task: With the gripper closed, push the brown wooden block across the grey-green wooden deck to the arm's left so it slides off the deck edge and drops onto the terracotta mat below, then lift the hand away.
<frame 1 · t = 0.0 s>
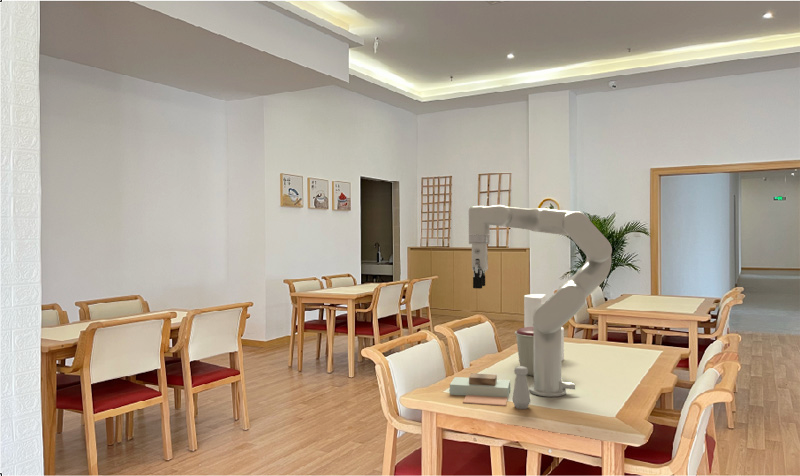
hand: (479, 287, 208), 37 cm above the table, tool pointing down, fingers open, 9 cm apart
salt shaker: (521, 407, 184), on the table
brown wooden block: (482, 379, 202), point 5 cm above the table, touching deck
canister: (537, 374, 229), on the table
mat: (485, 400, 192), on the table
white tall block: (543, 358, 257), on the table
deck: (480, 392, 202), on the table
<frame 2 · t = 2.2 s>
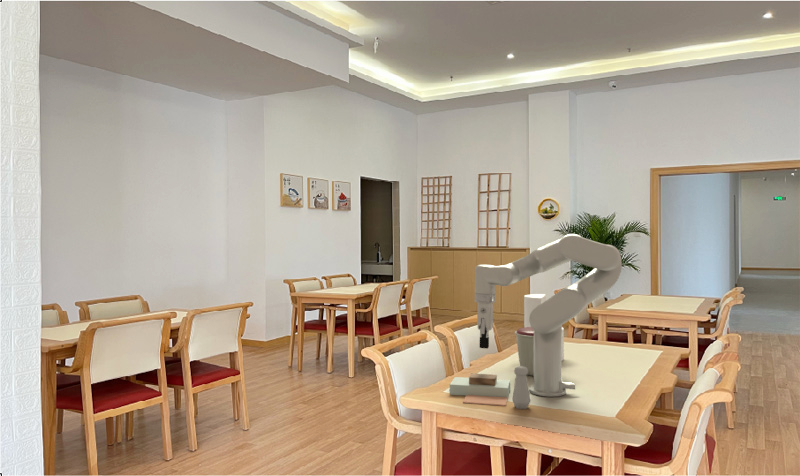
hand: (484, 347, 210), 14 cm above the table, tool pointing down, fingers closed
nothing on the table moved.
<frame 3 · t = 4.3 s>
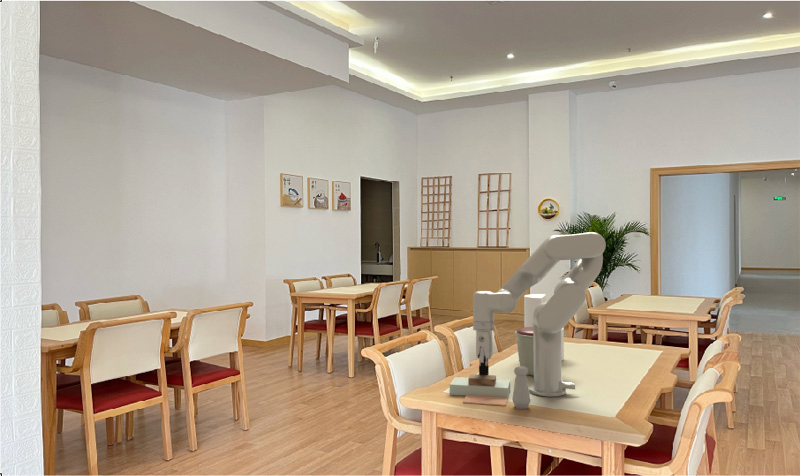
hand: (483, 376, 205), 5 cm above the table, tool pointing down, fingers closed
brown wooden block: (482, 380, 200), point 5 cm above the table, touching gripper
everything else where it was.
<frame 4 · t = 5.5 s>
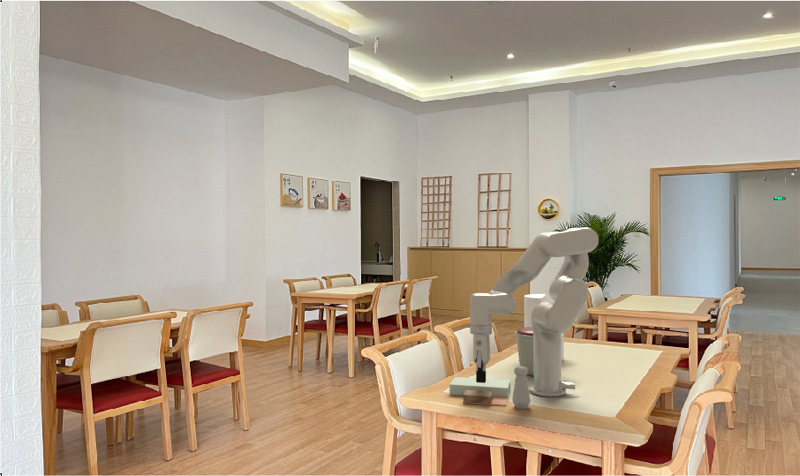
hand: (481, 382, 197), 5 cm above the table, tool pointing down, fingers closed
brown wooden block: (478, 396, 191), point 2 cm above the table, tilted 180°, touching mat
everything else where it was.
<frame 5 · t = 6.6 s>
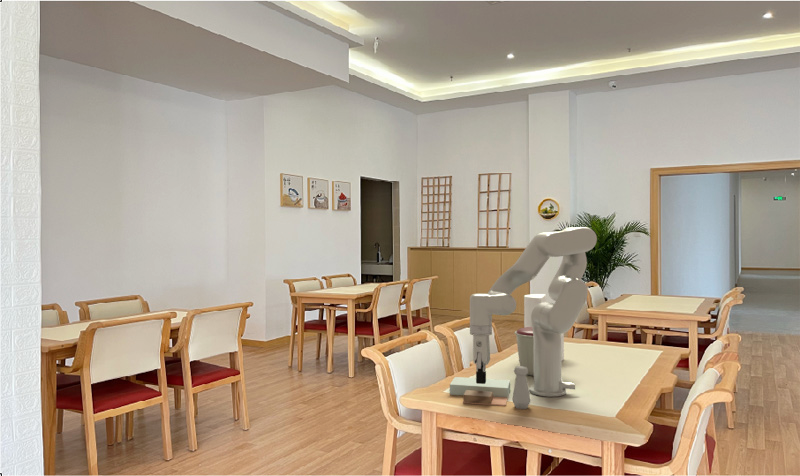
hand: (481, 383, 196), 5 cm above the table, tool pointing down, fingers closed
nothing on the table moved.
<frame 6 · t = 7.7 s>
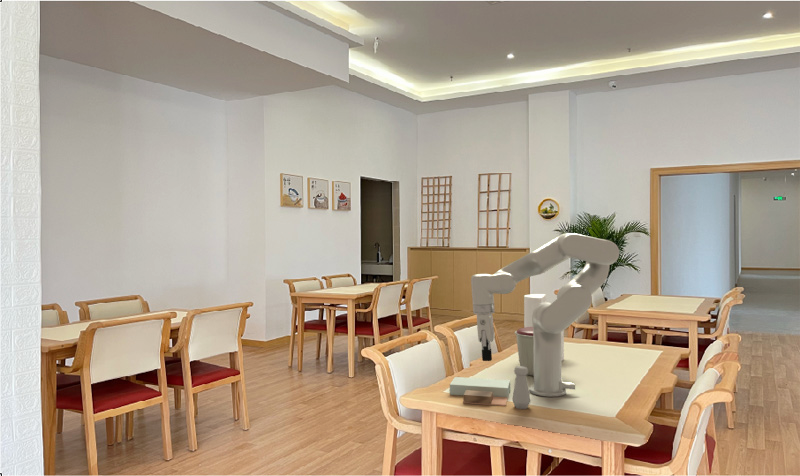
hand: (487, 360, 202), 11 cm above the table, tool pointing down, fingers closed
nothing on the table moved.
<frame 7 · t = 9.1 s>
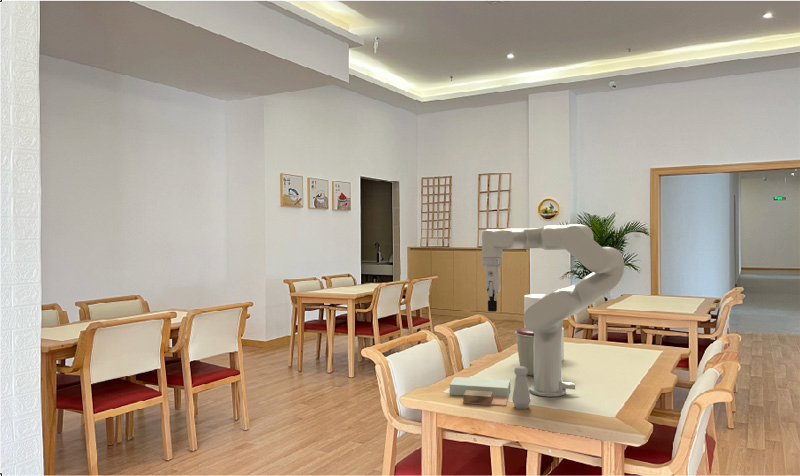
hand: (492, 311, 214), 27 cm above the table, tool pointing down, fingers closed
nothing on the table moved.
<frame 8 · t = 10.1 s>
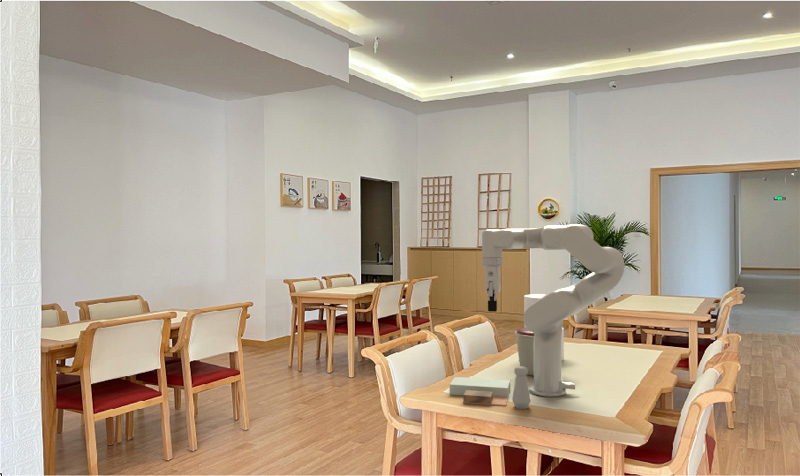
hand: (492, 311, 214), 27 cm above the table, tool pointing down, fingers closed
nothing on the table moved.
at the end: brown wooden block point 1.6 cm above the table; brown wooden block inside the target area on the mat (2.7 cm from its centre), point 1.6 cm above the mat's base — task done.
